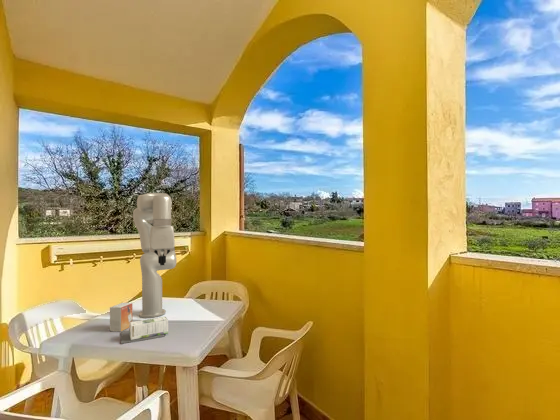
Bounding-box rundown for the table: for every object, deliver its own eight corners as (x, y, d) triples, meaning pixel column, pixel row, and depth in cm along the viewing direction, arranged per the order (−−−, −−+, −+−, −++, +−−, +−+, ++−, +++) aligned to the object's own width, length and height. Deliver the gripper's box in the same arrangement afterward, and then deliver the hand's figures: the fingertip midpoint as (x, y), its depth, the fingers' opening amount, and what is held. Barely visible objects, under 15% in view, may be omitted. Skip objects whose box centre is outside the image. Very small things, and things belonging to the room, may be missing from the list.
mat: (121, 332, 137) (121, 331, 137) (161, 326, 144) (161, 325, 144) (121, 344, 124) (121, 342, 124) (164, 336, 131) (164, 335, 131)
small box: (120, 332, 138) (120, 307, 138) (109, 331, 139) (109, 307, 139) (132, 326, 146) (132, 302, 146) (122, 325, 147) (122, 302, 147)
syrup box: (166, 329, 138) (129, 336, 131) (165, 315, 139) (128, 322, 131) (168, 333, 133) (130, 340, 126) (168, 319, 134) (130, 325, 126)
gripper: (143, 223, 134) (144, 267, 134) (180, 223, 141) (180, 264, 141) (143, 223, 141) (143, 264, 141) (178, 222, 147) (178, 262, 147)
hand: (162, 264), depth 141 cm, fingers closed
